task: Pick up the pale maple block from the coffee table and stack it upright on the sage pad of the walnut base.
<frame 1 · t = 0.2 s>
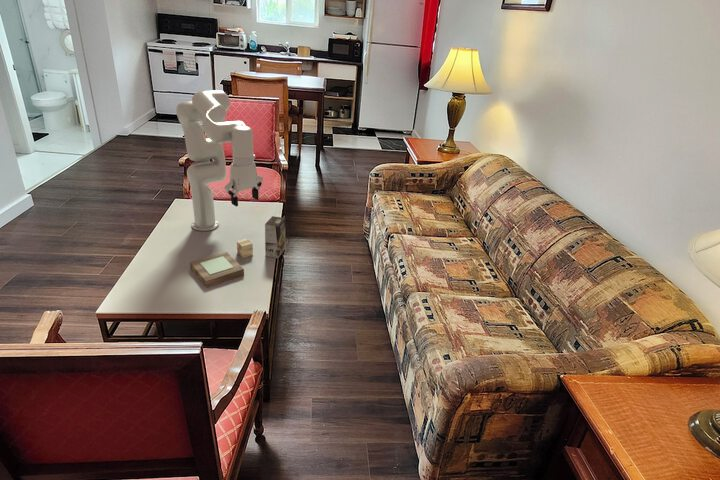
hand: (245, 201, 168), 30 cm above the table, tool pointing down, fingers open, 9 cm apart
maple block: (245, 253, 191), on the table
coffee box: (275, 252, 195), on the table
walnut base: (217, 271, 177), on the table
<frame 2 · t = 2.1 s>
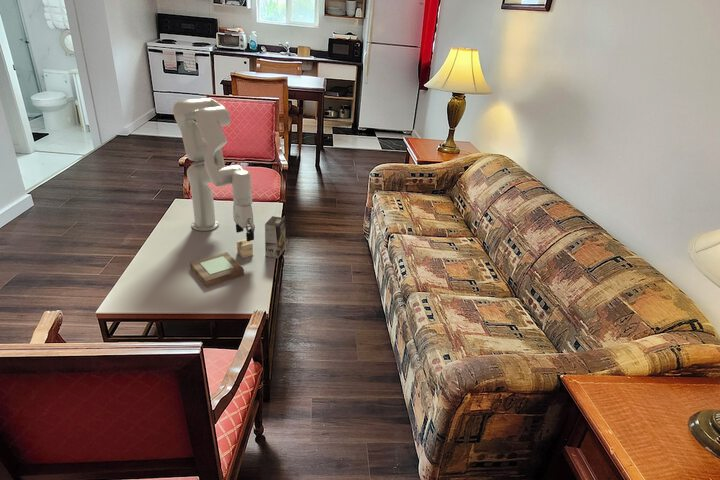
hand: (245, 236, 186), 9 cm above the table, tool pointing down, fingers open, 9 cm apart
nothing on the table moved.
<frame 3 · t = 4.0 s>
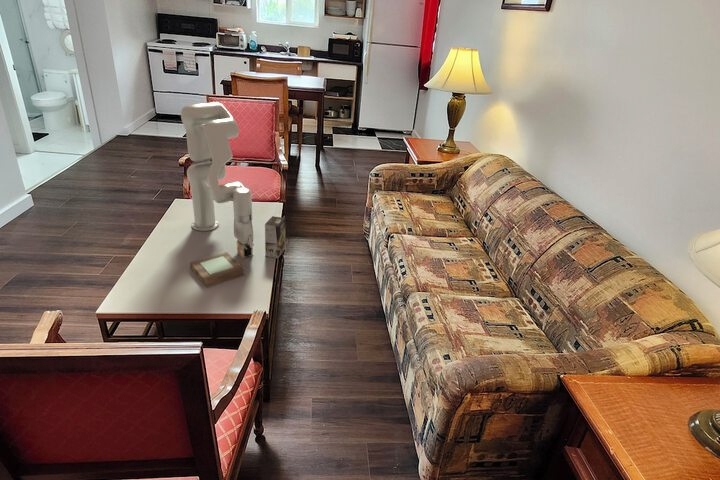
hand: (245, 252, 191), 1 cm above the table, tool pointing down, fingers closed on maple block, 5 cm apart
maple block: (245, 253, 191), on the table, touching gripper
everything else where it was.
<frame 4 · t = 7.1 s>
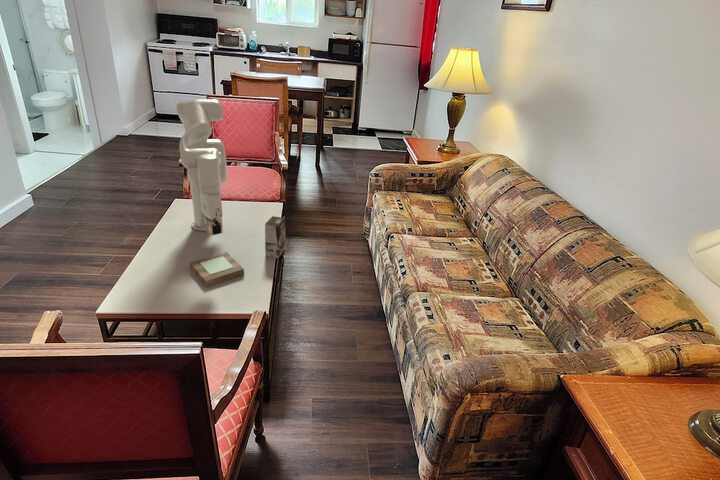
hand: (214, 230, 168), 19 cm above the table, tool pointing down, fingers closed on maple block, 5 cm apart
maple block: (214, 231, 168), point 19 cm above the table, touching gripper
everything else where it was.
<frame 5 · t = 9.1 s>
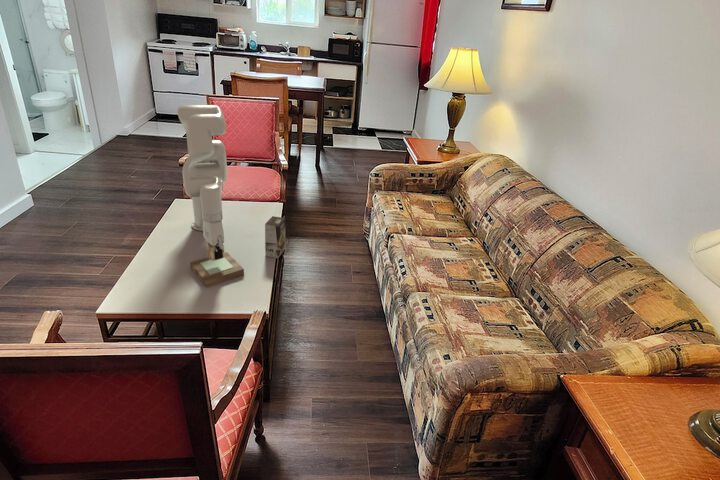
hand: (215, 255, 173), 8 cm above the table, tool pointing down, fingers closed on maple block, 5 cm apart
maple block: (216, 256, 173), point 7 cm above the table, touching gripper
everything else where it was.
when the fingers open (5 cm above the table, at t = 10.5 s): maple block drops 1 cm, resting on walnut base.
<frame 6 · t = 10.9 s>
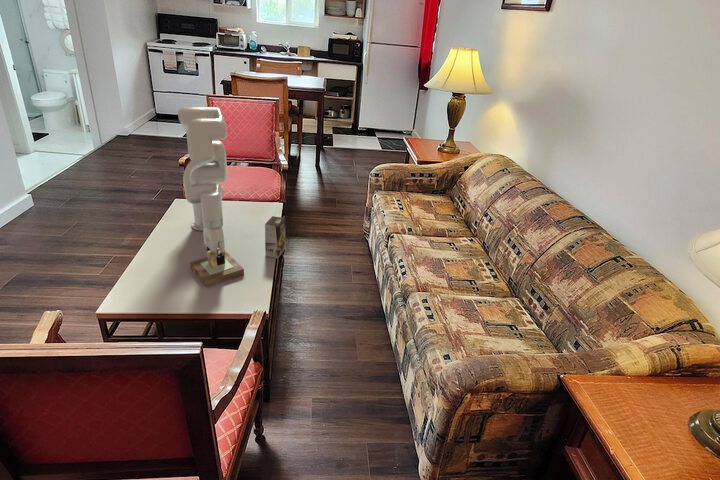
hand: (216, 259, 174), 6 cm above the table, tool pointing down, fingers open, 8 cm apart
maple block: (216, 264, 176), point 3 cm above the table, touching walnut base
everything else where it was.
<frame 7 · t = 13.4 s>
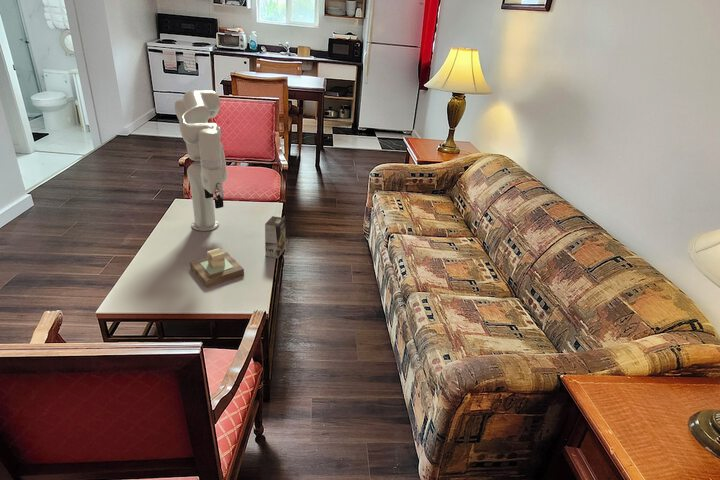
hand: (214, 202, 171), 28 cm above the table, tool pointing down, fingers open, 9 cm apart
nothing on the table moved.
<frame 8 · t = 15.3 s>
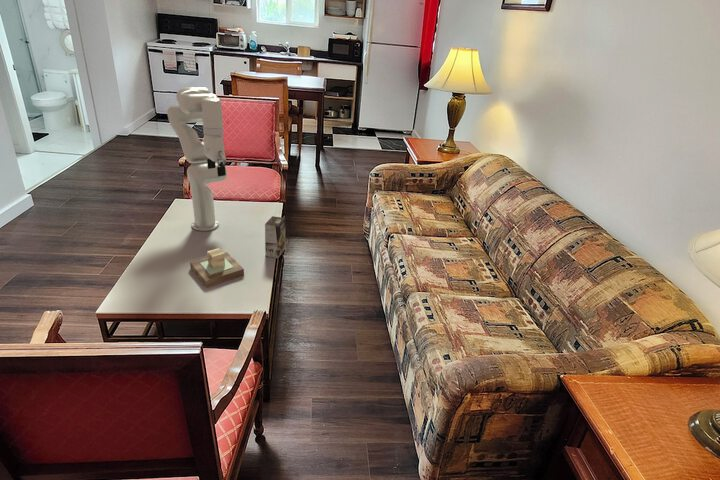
hand: (216, 171, 177), 36 cm above the table, tool pointing down, fingers open, 9 cm apart
nothing on the table moved.
at the end: maple block inside the target area on the walnut base (0.1 cm from its centre), point 3.3 cm above the walnut base's base; maple block tilted 0°; the gripper is holding nothing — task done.
